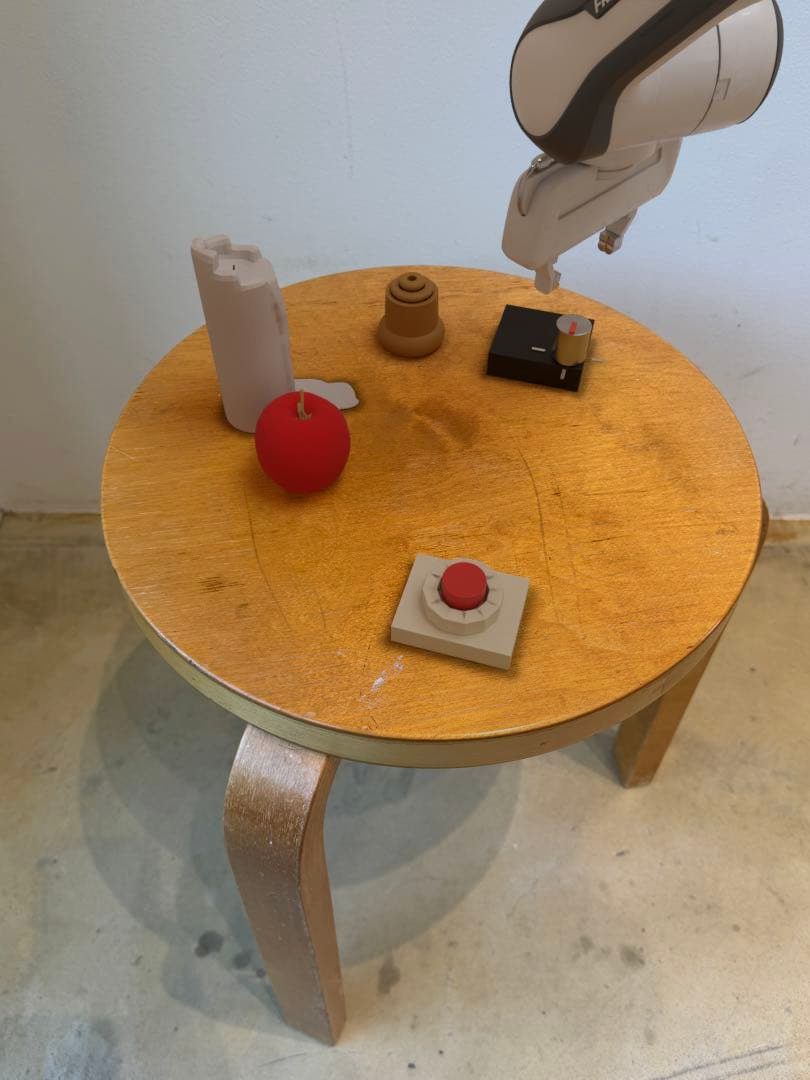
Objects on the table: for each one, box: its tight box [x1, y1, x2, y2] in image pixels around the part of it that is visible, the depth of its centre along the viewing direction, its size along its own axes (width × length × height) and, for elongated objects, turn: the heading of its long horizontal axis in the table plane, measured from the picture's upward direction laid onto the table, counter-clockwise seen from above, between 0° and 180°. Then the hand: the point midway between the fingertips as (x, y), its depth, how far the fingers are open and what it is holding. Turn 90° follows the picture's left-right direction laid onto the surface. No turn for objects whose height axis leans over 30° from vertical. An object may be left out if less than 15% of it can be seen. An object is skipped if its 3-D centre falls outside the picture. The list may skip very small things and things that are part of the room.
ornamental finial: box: [377, 271, 446, 358], centre depth 93 cm, size 8×8×8 cm
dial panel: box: [485, 303, 606, 393], centre depth 92 cm, size 12×11×3 cm
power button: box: [441, 562, 487, 610], centre depth 69 cm, size 4×4×2 cm
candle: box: [190, 233, 360, 434], centre depth 81 cm, size 7×14×20 cm, turn 105°
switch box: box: [390, 552, 531, 671], centre depth 71 cm, size 10×8×4 cm
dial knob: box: [551, 313, 592, 366], centre depth 88 cm, size 4×4×4 cm
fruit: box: [254, 389, 352, 494], centre depth 79 cm, size 9×9×10 cm
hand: (578, 268), depth 81 cm, fingers open, 8 cm apart
